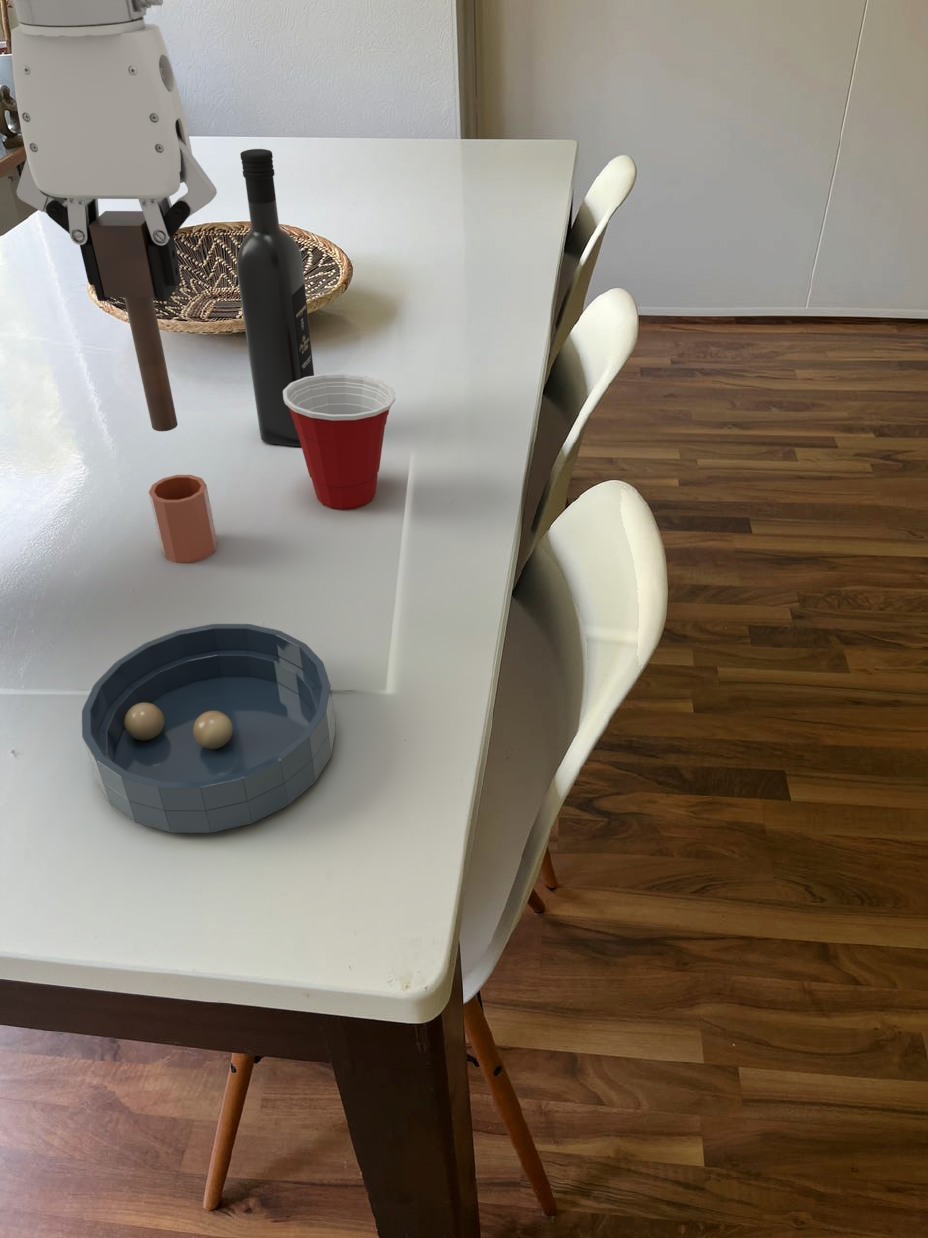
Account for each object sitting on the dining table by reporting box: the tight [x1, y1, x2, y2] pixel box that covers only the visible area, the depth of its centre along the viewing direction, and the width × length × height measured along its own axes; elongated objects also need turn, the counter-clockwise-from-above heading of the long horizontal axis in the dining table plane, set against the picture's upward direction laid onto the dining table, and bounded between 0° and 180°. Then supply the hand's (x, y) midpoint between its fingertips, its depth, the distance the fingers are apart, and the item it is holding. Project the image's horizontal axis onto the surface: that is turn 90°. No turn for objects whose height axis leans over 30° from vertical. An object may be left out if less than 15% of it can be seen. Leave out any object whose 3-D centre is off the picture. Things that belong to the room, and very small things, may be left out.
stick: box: [89, 210, 179, 432], centre depth 74 cm, size 4×4×16 cm
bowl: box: [81, 623, 336, 834], centre depth 72 cm, size 17×17×5 cm
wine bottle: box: [236, 148, 315, 447], centre depth 104 cm, size 6×6×30 cm
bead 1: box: [124, 703, 164, 741], centre depth 73 cm, size 3×3×3 cm
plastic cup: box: [283, 373, 397, 511], centre depth 98 cm, size 11×11×12 cm
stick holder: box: [148, 474, 218, 564], centre depth 92 cm, size 5×5×7 cm
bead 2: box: [193, 711, 233, 749], centre depth 72 cm, size 3×3×3 cm
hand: (137, 292), depth 72 cm, fingers closed on stick, 3 cm apart
